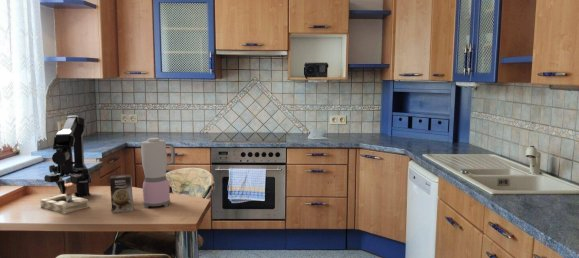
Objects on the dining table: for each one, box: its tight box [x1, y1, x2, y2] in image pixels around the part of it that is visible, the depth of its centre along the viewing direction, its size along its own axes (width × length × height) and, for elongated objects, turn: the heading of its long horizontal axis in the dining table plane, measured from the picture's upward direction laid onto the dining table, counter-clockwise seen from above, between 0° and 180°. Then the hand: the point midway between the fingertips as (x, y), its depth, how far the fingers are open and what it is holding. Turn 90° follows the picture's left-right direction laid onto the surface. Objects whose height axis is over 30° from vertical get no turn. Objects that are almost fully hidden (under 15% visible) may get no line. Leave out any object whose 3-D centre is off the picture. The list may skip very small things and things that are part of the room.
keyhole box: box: [39, 193, 90, 215], centre depth 217 cm, size 20×12×4 cm, turn 57°
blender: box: [139, 137, 176, 209], centre depth 216 cm, size 16×12×32 cm
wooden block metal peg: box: [60, 182, 77, 203], centre depth 214 cm, size 5×5×11 cm
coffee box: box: [109, 174, 134, 214], centre depth 210 cm, size 9×6×16 cm
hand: (68, 192), depth 214 cm, fingers closed on wooden block metal peg, 5 cm apart
